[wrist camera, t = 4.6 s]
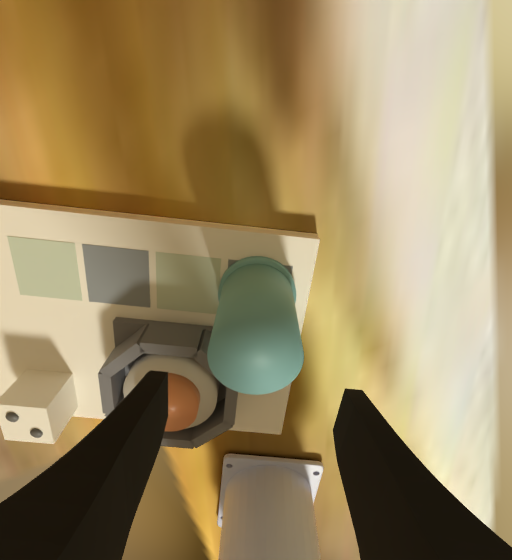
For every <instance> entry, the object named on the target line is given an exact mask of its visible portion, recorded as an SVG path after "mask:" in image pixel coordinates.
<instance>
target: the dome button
mask: <svg viewBox="0 0 512 560" xmlns="http://www.w3.org/2000/svg"><path fill="white" fill-rule="evenodd" d="M150 370H152V371H163V372H168V419H167V423H166V427H165V431H168V432H172V431H179V430H182V429H186V428H191V427H194V426H197V425H199V424H201V423H203V422H204V421H205V420H207V419H208V418H209V417H210V416H211V414H212V413H213V411H214V410H215V407H216V403H217V397H218V391H219V381H218V380H217V379H216V378H215V377H214V376H213V375H212V374H210V373H209V372H208V371H207V370H206V369H205V368H204V367H203V366H202V365H201V364H200V363H198V362H197V361H196V360H195V359H194V358H188V357H178V356H167V355H157V354H146V353H143V354H142V355H140V356H139V357H138V358H137V359H136V361H135V362H134V364H133V366H132V367H131V369H130V371H129V373H128V375H127V377H126V379H125V381H124V385H123V394H124V398H125V397H126V396H127V395H128V394H129V393H130V392H131V390H132V389H133V388H134V387H135V386H136V385H137V384H138V383H139V381H140V380H141V379H142V378H143V377H144V376H145V374H146V373H147V372H149V371H150Z"/></svg>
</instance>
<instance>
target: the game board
mask: <svg viewBox="0 0 512 560" xmlns="http://www.w3.org/2000/svg"><path fill="white" fill-rule="evenodd" d="M319 242H320V238H319V236H318V234H315V233H306V232H297V231H287V230H278V229H269V228H260V227H251V226H242V225H232V224H223V223H214V222H205V221H196V220H186V219H177V218H168V217H159V216H150V215H140V214H131V213H122V212H113V211H104V210H94V209H85V208H76V207H67V206H58V205H48V204H39V203H30V202H21V201H12V200H2V199H0V426H1V429H2V432H3V435H4V438H5V440H14V441H25V442H37V443H49V444H54V443H55V442H56V440H57V439H58V437H59V436H60V434H61V433H62V431H63V429H64V428H65V426H66V425H67V423H68V422H69V420H70V419H71V417H72V416H76V417H87V418H98V419H105V418H106V417H107V416H108V415H109V414H110V413H111V412H112V411H113V410H114V409H115V407H116V406H117V405H118V404H119V403H120V402H121V401H122V400H123V399H124V394H123V385H124V381H125V379H126V377H127V375H128V373H129V371H130V369H131V367H132V366H133V364H134V362H135V361H136V359H137V358H138V357H139V356H140V355H142V354H143V353H146V354H157V355H167V356H178V357H188V358H194V359H195V360H196V361H197V362H198V363H200V364H201V365H202V366H203V367H204V368H205V369H206V370H207V371H208V372H209V373H210V374H212V375H213V376H214V374H213V373H212V371H211V369H210V367H209V364H208V359H207V352H208V346H209V342H210V338H211V334H212V329H213V325H214V321H215V317H216V312H217V308H218V304H219V300H218V289H219V284H220V281H221V278H222V276H223V274H224V272H225V271H226V270H227V269H228V268H229V267H230V266H231V265H232V264H233V263H235V262H236V261H238V260H240V259H243V258H246V257H250V256H263V257H268V258H272V259H274V260H276V261H278V262H279V263H281V264H282V265H284V266H285V267H286V268H287V269H288V271H289V272H290V273H291V275H292V277H293V280H294V283H295V288H296V302H295V308H296V313H297V319H298V324H299V330H300V335H301V332H302V327H303V322H304V317H305V312H306V307H307V302H308V297H309V292H310V287H311V282H312V277H313V272H314V267H315V262H316V257H317V252H318V247H319ZM214 377H215V376H214ZM215 378H216V377H215ZM216 379H217V378H216ZM217 380H218V379H217ZM218 381H219V380H218ZM290 387H291V383H290V384H289V385H287V386H286V387H284V388H282V389H280V390H278V391H275V392H272V393H268V394H261V395H251V394H244V393H240V392H237V391H234V390H232V389H230V388H228V387H226V386H225V385H223V384H222V383H221V382H220V381H219V391H218V397H217V403H216V407H215V410H214V411H213V413H212V414H211V416H210V417H209V418H208V419H207V420H205V421H204V422H203V423H201V424H199V425H197V426H194V427H191V428H186V429H182V430H179V431H172V432H168V431H164V435H163V439H162V442H161V446H167V447H179V448H190V449H193V448H194V447H195V448H197V447H199V446H201V445H203V444H204V443H206V442H208V441H210V440H211V439H213V438H215V437H217V436H218V435H220V434H222V433H224V432H225V431H227V430H234V431H245V432H256V433H267V434H279V435H281V432H282V427H283V422H284V417H285V412H286V407H287V402H288V397H289V392H290Z"/></svg>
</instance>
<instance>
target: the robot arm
mask: <svg viewBox="0 0 512 560" xmlns="http://www.w3.org/2000/svg"><path fill="white" fill-rule="evenodd" d="M167 419H168V372H163V371H152V370H150V371H149V372H147V373H146V374H145V376H144V377H143V378H142V379H141V380H140V381H139V383H138V384H137V385H136V386H135V387H134V388H133V389H132V390H131V392H130V393H129V394H128V395H127V396H126V397H125V398H124V399H123V400H122V401H121V402H120V403H119V404H118V405H117V406H116V407H115V409H114V410H113V411H112V412H111V413H110V414H109V415H108V416H107V417H106V418H105V419H104V420H103V421H102V422H101V423H99V424H98V425H97V426H96V427H95V428H94V429H93V430H92V431H91V432H90V433H89V434H88V435H87V436H86V437H85V438H83V439H82V440H81V441H80V442H79V443H78V444H77V445H76V446H74V447H73V448H72V449H71V450H70V451H69V452H67V453H66V454H65V455H64V456H63V457H61V458H60V459H59V460H58V461H56V462H55V463H54V464H53V465H52V466H50V467H49V468H48V469H46V470H45V471H44V472H42V473H41V474H40V475H39V476H37V477H36V478H35V479H33V480H32V481H31V482H29V483H28V484H27V485H25V486H24V487H23V488H21V489H20V490H18V491H17V492H16V493H14V494H13V495H12V496H10V497H8V498H7V499H6V500H4V501H3V502H1V503H0V560H121V559H122V556H123V553H124V549H125V546H126V542H127V538H128V535H129V531H130V528H131V525H132V522H133V519H134V516H135V513H136V511H137V508H138V505H139V503H140V500H141V497H142V495H143V492H144V489H145V487H146V484H147V481H148V479H149V476H150V473H151V471H152V468H153V465H154V462H155V459H156V457H157V454H158V451H159V449H160V446H161V442H162V439H163V435H164V431H165V427H166V423H167ZM333 435H334V443H335V450H336V457H337V462H338V467H339V471H340V475H341V479H342V483H343V487H344V491H345V495H346V498H347V502H348V506H349V510H350V514H351V518H352V522H353V526H354V530H355V534H356V538H357V543H358V548H359V553H360V559H361V560H512V547H510V546H509V545H508V544H507V543H506V542H505V541H503V540H502V539H501V538H500V537H499V536H497V535H496V534H495V533H494V532H493V531H492V530H491V529H490V528H488V527H487V526H486V525H485V524H484V523H483V522H482V521H480V520H479V519H478V518H477V517H476V516H475V515H474V514H473V513H471V512H470V511H469V510H468V509H467V508H466V507H465V506H464V505H463V504H462V503H461V502H460V501H459V500H458V499H457V498H456V497H455V496H454V495H453V494H451V493H450V492H449V491H448V490H447V489H446V488H445V487H444V486H443V485H442V484H441V483H440V482H439V481H438V480H437V479H436V478H435V477H434V475H433V474H432V473H431V472H430V471H429V470H428V469H427V468H426V467H425V466H424V465H423V464H422V462H421V461H420V460H419V459H418V458H417V457H416V456H415V455H414V454H413V452H412V451H411V450H410V449H409V448H408V447H407V446H406V444H405V443H404V442H403V441H402V440H401V438H400V437H399V436H398V435H397V434H396V432H395V431H394V430H393V429H392V427H391V426H390V425H389V424H388V422H387V421H386V420H385V419H384V417H383V416H382V415H381V413H380V412H379V411H378V410H377V408H376V407H375V406H374V404H373V403H372V402H371V401H370V399H369V398H368V397H367V396H366V394H365V393H364V392H363V390H355V389H345V391H344V394H343V397H342V401H341V404H340V408H339V411H338V414H337V418H336V421H335V425H334V428H333ZM323 469H324V468H323V464H322V463H321V462H320V461H312V460H300V459H289V458H277V457H265V456H254V455H242V454H231V453H230V454H226V455H225V456H224V460H223V470H222V480H221V491H220V501H219V511H218V521H217V524H218V526H219V527H222V530H221V540H220V550H219V560H321V557H320V550H319V543H318V535H317V528H316V520H315V513H314V506H313V503H314V500H315V496H316V493H317V490H318V486H319V483H320V480H321V476H322V473H323Z"/></svg>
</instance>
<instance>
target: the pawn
mask: <svg viewBox="0 0 512 560" xmlns="http://www.w3.org/2000/svg"><path fill="white" fill-rule="evenodd" d="M218 300H219V304H218V308H217V312H216V317H215V321H214V325H213V329H212V334H211V338H210V342H209V346H208V352H207V359H208V364H209V367H210V369H211V371H212V373H213V374H214V376H215V377H216V378H217V379H218V380H219V381H220V382H221V383H222V384H223V385H225V386H226V387H228V388H230V389H232V390H234V391H237V392H240V393H244V394H251V395H261V394H268V393H272V392H275V391H278V390H280V389H282V388H284V387H286V386H287V385H289V384H290V383H291V382H292V381H293V380H294V379H295V378H296V377H297V376H298V374H299V373H300V370H301V368H302V365H303V361H304V352H303V346H302V341H301V335H300V330H299V324H298V319H297V313H296V308H295V302H296V288H295V283H294V280H293V277H292V275H291V273H290V272H289V271H288V269H287V268H286V267H285V266H284V265H282V264H281V263H279V262H278V261H276V260H274V259H272V258H268V257H263V256H250V257H246V258H243V259H240V260H238V261H236V262H235V263H233V264H232V265H231V266H230V267H229V268H228V269H227V270H226V271H225V272H224V274H223V276H222V278H221V281H220V284H219V289H218Z"/></svg>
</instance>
